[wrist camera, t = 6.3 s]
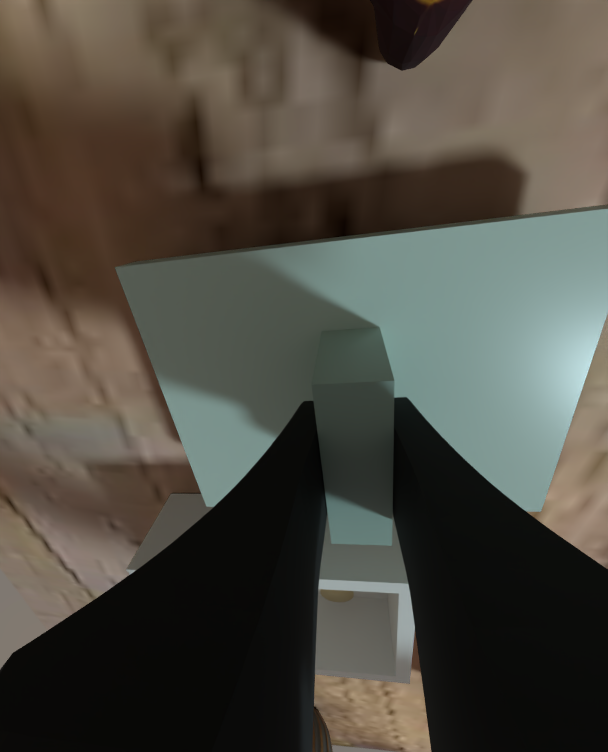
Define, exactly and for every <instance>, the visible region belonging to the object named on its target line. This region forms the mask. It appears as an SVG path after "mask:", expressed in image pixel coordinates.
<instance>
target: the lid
mask: <svg viewBox="0 0 608 752" xmlns="http://www.w3.org/2000/svg"><path fill="white" fill-rule="evenodd" d="M115 269H116V272H117V275H118V277H119V280H120V283H121V285H122V288H123V290H124V293H125V296H126V298H127V301H128V303H129V306H130V309H131V311H132V314H133V316H134V319H135V322H136V324H137V327H138V329H139V332H140V335H141V337H142V340H143V343H144V345H145V348H146V350H147V353H148V356H149V358H150V361H151V363H152V366H153V369H154V371H155V374H156V376H157V379H158V382H159V384H160V387H161V389H162V392H163V395H164V397H165V400H166V402H167V405H168V408H169V410H170V413H171V416H172V418H173V421H174V423H175V426H176V429H177V431H178V434H179V436H180V439H181V442H182V444H183V447H184V449H185V452H186V455H187V457H188V460H189V462H190V465H191V468H192V470H193V473H194V476H195V478H196V481H197V483H198V486H199V489H200V491H201V494H202V496H203V499H204V502H205V504H206V507H214V506H215V505H216V504H217V503H218V502H219V501H220V500H221V499H222V498H224V497H225V496H226V495H227V494H228V493H229V492H230V491H231V490H232V489H233V488H234V487H235V486H236V485H237V484H238V482H239V481H240V480H241V479H242V478H243V477H244V476H245V475H246V474H247V473H248V472H249V470H250V469H251V468H252V467H253V466H254V465H255V464H256V462H257V461H258V460H259V459H260V458H261V457H262V456H263V454H264V453H265V452H266V451H267V450H268V448H269V447H270V446H271V445H272V443H273V442H274V441H275V439H276V438H277V437H278V435H279V434H280V433H281V432H282V430H283V429H284V428H285V426H286V425H287V423H288V422H289V421H290V419H291V418H292V416H293V415H294V413H295V412H296V410H297V409H298V407H299V406H300V405H301V403H302V402H303V401H314V409H315V417H316V425H317V433H318V441H319V449H320V457H321V465H322V472H323V480H324V488H325V496H326V504H327V512H328V520H329V528H330V536H331V544H354V545H385V546H392V520H393V453H394V398H395V397H407V398H408V399H409V400H410V401H411V402H412V403H413V404H414V406H415V407H416V408H417V409H418V410H419V412H420V413H421V414H422V415H423V416H424V417H425V419H426V420H427V421H428V422H429V423H430V424H431V425H432V426H433V428H434V429H435V430H436V431H437V432H438V433H439V434H440V435H441V436H442V437H443V438H444V439H445V440H446V441H447V442H448V443H449V444H450V445H451V446H452V447H453V448H454V449H455V450H456V451H457V452H458V453H459V454H460V455H461V456H462V457H463V458H464V459H465V460H466V461H467V462H468V463H469V464H470V465H471V466H472V467H474V468H475V469H476V470H477V471H478V472H479V473H480V474H481V475H482V476H483V477H484V478H486V479H487V480H488V481H489V482H490V483H491V484H493V485H494V486H495V487H496V488H497V489H498V490H500V491H501V492H502V493H503V494H504V495H506V496H507V497H508V498H509V499H511V500H512V501H513V502H515V503H516V504H517V505H518V506H520V507H521V508H522V509H523V510H525V511H536V512H541V510H542V507H543V504H544V501H545V498H546V495H547V492H548V489H549V486H550V483H551V480H552V477H553V474H554V471H555V468H556V465H557V462H558V459H559V456H560V453H561V450H562V447H563V444H564V441H565V438H566V435H567V432H568V429H569V426H570V424H571V421H572V418H573V415H574V412H575V409H576V406H577V403H578V400H579V397H580V394H581V391H582V388H583V385H584V382H585V379H586V376H587V373H588V370H589V367H590V364H591V361H592V358H593V355H594V352H595V349H596V346H597V343H598V340H599V337H600V334H601V331H602V328H603V325H604V322H605V319H606V316H607V313H608V205H600V206H591V207H583V208H575V209H567V210H558V211H550V212H542V213H533V214H525V215H517V216H509V217H500V218H492V219H484V220H475V221H467V222H459V223H451V224H442V225H434V226H426V227H417V228H409V229H401V230H392V231H384V232H376V233H368V234H359V235H351V236H343V237H334V238H326V239H318V240H310V241H301V242H293V243H285V244H276V245H268V246H260V247H252V248H243V249H235V250H227V251H218V252H210V253H202V254H194V255H185V256H177V257H169V258H160V259H152V260H144V261H136V262H132V263H128V264H125V265H121V266H117V267H115Z"/></svg>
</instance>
